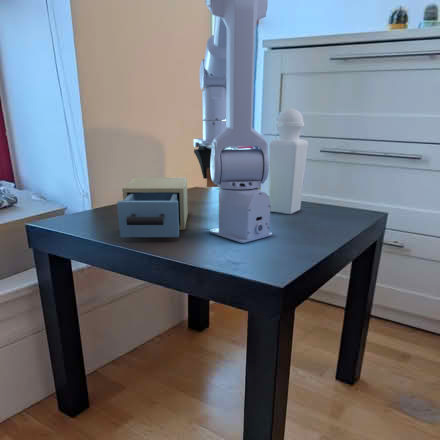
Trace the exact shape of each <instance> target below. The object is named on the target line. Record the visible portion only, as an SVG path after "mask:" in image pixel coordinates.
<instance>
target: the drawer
mask: <svg viewBox="0 0 440 440" xmlns="http://www.w3.org/2000/svg"><path fill="white" fill-rule="evenodd" d="M116 205H117V217H118V228H119V237H120V238H179V237H180V230H179V197H178V193H130V194H129V195H128V196H127V198H126V199H125V200H124V201H123V200H117V202H116Z"/></svg>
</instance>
